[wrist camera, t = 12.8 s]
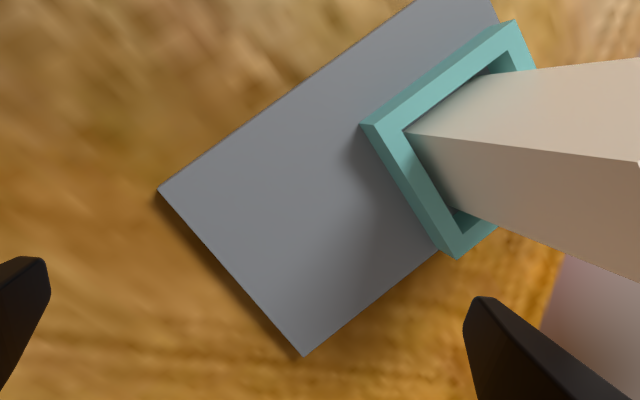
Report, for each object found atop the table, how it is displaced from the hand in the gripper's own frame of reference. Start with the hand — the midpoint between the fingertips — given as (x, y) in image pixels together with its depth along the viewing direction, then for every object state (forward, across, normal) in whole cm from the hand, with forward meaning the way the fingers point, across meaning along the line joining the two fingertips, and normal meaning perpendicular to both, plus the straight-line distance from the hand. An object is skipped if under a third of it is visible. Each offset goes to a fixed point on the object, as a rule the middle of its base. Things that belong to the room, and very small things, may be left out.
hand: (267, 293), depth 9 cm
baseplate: (+14, -5, +2) cm, 15 cm away
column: (+14, -9, +1) cm, 17 cm away
